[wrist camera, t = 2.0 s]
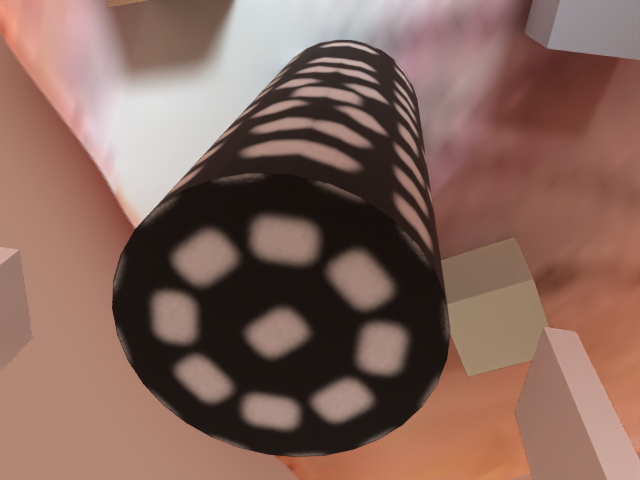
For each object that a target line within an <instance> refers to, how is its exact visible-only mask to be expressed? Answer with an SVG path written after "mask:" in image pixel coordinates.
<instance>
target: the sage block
mask: <svg viewBox="0 0 640 480" xmlns="http://www.w3.org/2000/svg"><path fill="white" fill-rule="evenodd" d="M441 265H442V271H443V278H444V285H445V292H446V298H447V306H448V314H449V323H450V335H451V337H452V340H453V342H454V344H455V347H456V349H457V352H458V354H459V357H460V359H461V361H462V364H463V366H464V369H465V371H466V374H467V376H468V377H469V376H473V375H477V374H481V373H485V372H489V371H493V370H497V369H501V368H505V367H508V366H512V365H516V364H520V363H524V362H528V361H532V360H533V357H534V354H535V351H536V348H537V345H538V342H539V339H540V336H541V333H542V330H543V327H549V325H548V322H547V319H546V316H545V313H544V309H543V306H542V303H541V300H540V297H539V294H538V291H537V288H536V285H535V282H534V279H533V277H532V274H531V272H530V270H529V267H528V265H527V262H526V260H525V258H524V255H523V253H522V251H521V248H520V246H519V244H518V241H517V239H516V237H512V238H509V239H506V240H503V241H500V242H496V243H493V244H490V245H487V246H484V247H481V248H477V249H474V250H471V251H468V252H465V253H462V254H458V255H455V256H452V257H449V258H446V259H443V260H441Z"/></svg>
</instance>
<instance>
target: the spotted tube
mask: <svg viewBox="0 0 640 480" xmlns="http://www.w3.org/2000/svg"><path fill="white" fill-rule="evenodd" d="M112 310H113V315H114V320H115V325H116V331H117V335H118V338H119V340H120V343H121V345H122V347H123V350H124V352H125V354H126V357H127V359H128V361H129V363H130V364H131V366H132V367H133V369H134V370H135V372H136V373H137V375H138V376H139V378H140V379H141V381H142V383H143V384H144V385H145V386H146V387H147V388H148V389H149V390H150V391H151V393H152V394H153V395H154V396H155V397H156V398H157V399H158V400H159V401H160V402H161V403H162V404H163V405H164V406H165V407H166V408H168V409H169V410H170V411H172V412H173V413H174V414H175V415H177V416H178V417H179V418H181V419H182V420H183V421H184V422H186V423H187V424H189V425H191V426H193V427H195V428H196V429H198V430H200V431H202V432H203V433H205V434H207V435H209V436H210V437H213V438H215V439H218V440H220V441H223V442H226V443H228V444H231V445H233V446H236V447H238V448H242V449H247V450H251V451H255V452H259V453H264V454H269V455H280V456H290V457H306V456H325V455H330V454H335V453H339V452H344V451H349V450H353V449H356V448H358V447H361V446H364V445H366V444H369V443H371V442H374V441H376V440H379V439H381V438H382V437H384V436H385V435H387V434H389V433H390V432H392V431H393V430H395V429H397V428H398V427H400V426H402V425H403V424H404V423H405V422H406V421H407V420H408V419H409V418H410V417H411V416H412V415H414V414H415V413H416V412H417V411H418V410H419V409H420V408H421V407H422V406H423V404H424V403H425V402H426V400H427V399H428V397H429V396H430V394H431V393H432V391H433V390H434V388H435V387H436V385H437V384H438V381H439V379H440V376H441V373H442V371H443V368H444V366H445V363H446V360H447V355H448V347H449V339H450V323H449V314H448V306H447V298H446V292H445V285H444V278H443V271H442V265H441V258H440V251H439V244H438V237H437V231H436V224H435V217H434V210H433V204H432V197H431V190H430V183H429V177H428V170H427V163H426V156H425V150H424V143H423V136H422V129H421V123H420V116H419V109H418V102H417V97H416V94H415V91H414V89H413V86H412V83H411V82H410V80H409V78H408V77H407V75H406V73H405V71H404V70H403V69H402V68H401V67H400V66H399V65H398V64H397V62H396V61H395V60H394V59H392V58H391V57H390V56H388V55H387V54H386V53H384V52H383V51H382V50H380V49H377V48H375V47H373V46H371V45H369V44H366V43H362V42H357V41H353V40H333V41H328V42H323V43H319V44H317V45H314V46H312V47H310V48H307V49H305V50H304V51H303V52H301V53H300V54H298V55H297V56H295V57H294V58H293V59H292V60H291V61H290V62H289V63H288V64H287V65H286V66H285V67H284V68H283V69H282V70H281V72H280V73H279V74H278V75H277V76H276V77H275V78H274V79H273V80H272V81H271V82H270V83H269V85H268V86H267V87H266V88H265V89H264V90H263V91H262V92H261V93H260V94H259V95H258V97H257V98H256V99H255V100H254V101H253V102H252V103H251V104H250V105H249V106H248V107H247V108H246V110H245V111H244V112H243V113H242V114H241V115H240V116H239V117H238V118H237V119H236V120H235V121H234V123H233V124H232V125H231V126H230V127H229V128H228V129H227V130H226V131H225V132H224V133H223V135H222V136H221V137H220V138H219V139H218V140H217V141H216V142H215V143H214V144H213V145H212V146H211V148H210V149H209V150H208V151H207V152H206V153H205V154H204V155H203V156H202V157H201V158H200V159H199V161H198V162H197V163H196V164H195V165H194V166H193V167H192V168H191V169H190V170H189V171H188V173H187V174H186V175H185V176H184V177H183V178H182V179H181V180H180V181H179V182H178V183H177V184H176V186H175V187H174V188H173V189H172V190H171V191H170V192H169V193H168V194H167V195H166V196H165V197H164V199H163V200H162V201H161V202H160V203H159V204H158V205H157V206H156V207H155V208H154V209H153V211H152V212H151V213H150V214H149V215H148V216H147V217H146V218H145V219H144V220H143V221H142V222H141V224H140V225H139V226H138V227H137V228H136V229H135V230H134V232H133V234H132V236H131V237H130V239H129V241H128V243H127V244H126V246H125V248H124V250H123V251H122V253H121V255H120V259H119V262H118V266H117V269H116V273H115V276H114V280H113V301H112Z"/></svg>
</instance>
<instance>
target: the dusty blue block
mask: <svg viewBox="0 0 640 480" xmlns="http://www.w3.org/2000/svg"><path fill="white" fill-rule="evenodd" d="M524 34H526V35H527V36H529V37H530V38H532V39H533V40H535V41H536V42H538V43H539V44H541V45H542V46H544V47H545V48H547V49H555V50H563V51H571V52H579V53H587V54H595V55H603V56H611V57H619V58H627V59H635V60H640V0H532V4H531V8H530V12H529V16H528V20H527V23H526V27H525V31H524Z"/></svg>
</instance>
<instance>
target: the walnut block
mask: <svg viewBox="0 0 640 480" xmlns="http://www.w3.org/2000/svg"><path fill="white" fill-rule="evenodd" d="M142 1H148V0H107V3H108V6H109V7H114V6H120V5H125V4H131V3H136V2H142Z"/></svg>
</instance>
